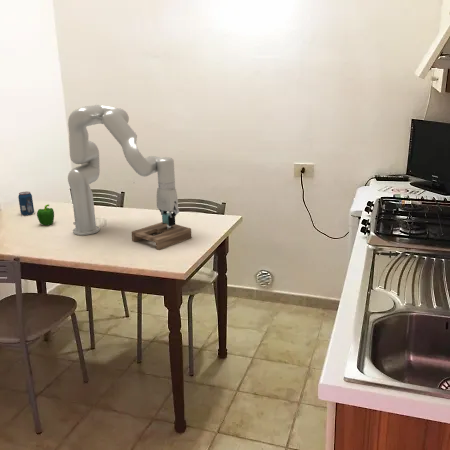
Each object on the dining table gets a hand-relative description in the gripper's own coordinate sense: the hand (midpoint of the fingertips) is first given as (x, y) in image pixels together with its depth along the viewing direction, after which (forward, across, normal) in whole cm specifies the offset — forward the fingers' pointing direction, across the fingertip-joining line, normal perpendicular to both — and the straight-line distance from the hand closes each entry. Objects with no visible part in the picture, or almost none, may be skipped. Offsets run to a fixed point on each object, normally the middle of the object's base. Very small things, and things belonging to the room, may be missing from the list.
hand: (168, 223), depth 232 cm
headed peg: (+6, 0, 0) cm, 6 cm away
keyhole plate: (+6, 0, -5) cm, 8 cm away
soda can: (+7, -90, -23) cm, 93 cm away
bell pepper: (+7, -64, -26) cm, 69 cm away
